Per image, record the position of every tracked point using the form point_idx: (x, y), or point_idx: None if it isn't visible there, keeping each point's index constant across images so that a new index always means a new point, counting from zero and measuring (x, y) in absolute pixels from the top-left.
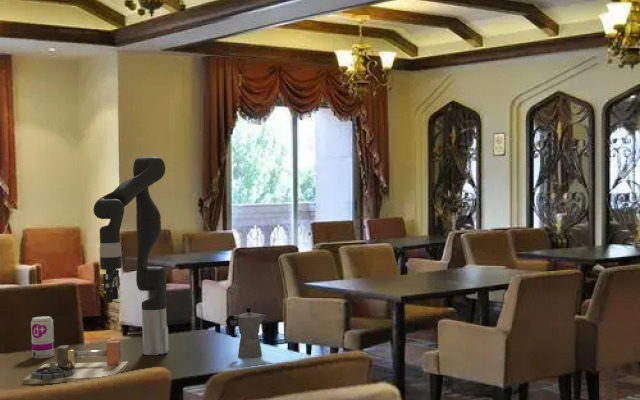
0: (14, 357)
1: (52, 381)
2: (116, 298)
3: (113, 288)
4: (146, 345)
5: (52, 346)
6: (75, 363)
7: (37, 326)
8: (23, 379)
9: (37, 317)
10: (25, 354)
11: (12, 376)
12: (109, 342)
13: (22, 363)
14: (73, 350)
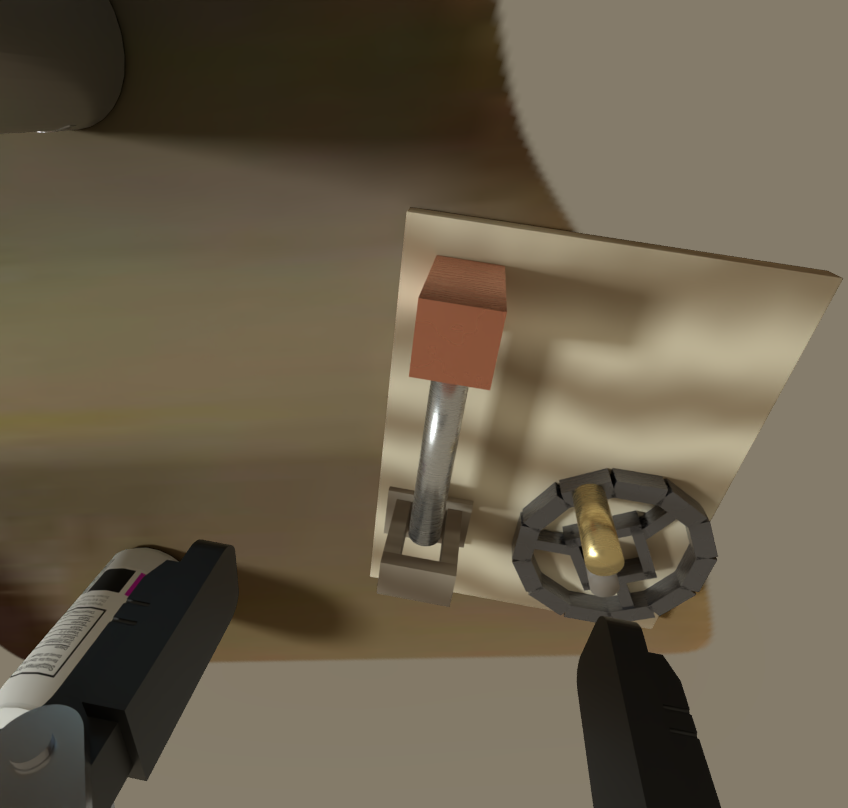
0: None
1: None
2: (227, 562)
3: (122, 773)
4: (72, 98)
5: (135, 580)
6: (390, 475)
7: None
8: (651, 627)
9: None
10: None
11: (491, 641)
12: (471, 371)
13: (273, 623)
14: (618, 551)
